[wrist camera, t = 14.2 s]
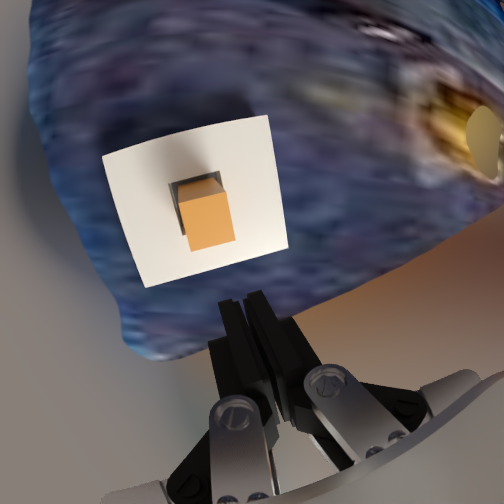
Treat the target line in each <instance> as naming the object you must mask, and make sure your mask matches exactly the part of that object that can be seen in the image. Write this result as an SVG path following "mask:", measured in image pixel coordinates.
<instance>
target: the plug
mask: <svg viewBox="0 0 504 504" xmlns="http://www.w3.org/2000/svg"><path fill="white" fill-rule="evenodd" d="M178 204H179V208H180V212H181V216H182V220H183V224H184V228H185V232H186V235H187V239H188V243H189V247H190V250H191V252H193V251H197V250H200V249H204V248H208V247H212V246H216V245H220V244H224V243H228V242H232V241H236V239H235V234H234V229H233V224H232V219H231V214H230V209H229V204H228V199H227V193H226V191H225V190H224V189H223V188H222V186H221V185H220V184H219V183H218V182H217V181H216V180H215V179H214V178H213V177H212V178H208V179H203V180H199V181H195V182H191V183H187V184H183V185H179V186H178Z"/></svg>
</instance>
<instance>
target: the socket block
mask: <svg viewBox="0 0 504 504" xmlns="http://www.w3.org/2000/svg"><path fill="white" fill-rule="evenodd" d="M102 159H103V163H104V167H105V171H106V174H107V178H108V182H109V185H110V189H111V192H112V195H113V199H114V202H115V205H116V209H117V212H118V215H119V218H120V221H121V224H122V227H123V230H124V233H125V236H126V239H127V241H128V244H129V247H130V250H131V252H132V255H133V258H134V260H135V263H136V266H137V268H138V271H139V273H140V276H141V278H142V281H143V283H144V286H145V288H146V287H150V286H154V285H157V284H161V283H165V282H168V281H172V280H175V279H179V278H183V277H186V276H190V275H193V274H197V273H201V272H204V271H208V270H211V269H215V268H218V267H222V266H226V265H229V264H233V263H236V262H240V261H243V260H247V259H250V258H254V257H258V256H261V255H265V254H268V253H272V252H275V251H279V250H282V249H286V248H288V243H287V235H286V228H285V221H284V214H283V207H282V200H281V194H280V187H279V181H278V175H277V168H276V162H275V156H274V150H273V144H272V138H271V133H270V127H269V122H268V116H267V115H264V116H257V117H251V118H245V119H239V120H233V121H228V122H223V123H218V124H213V125H208V126H204V127H199V128H195V129H191V130H187V131H183V132H179V133H175V134H171V135H167V136H164V137H160V138H157V139H153V140H150V141H147V142H143V143H140V144H137V145H134V146H131V147H128V148H125V149H122V150H119V151H116V152H113V153H110V154H107V155H105V156H102ZM212 177H213V178H214V179H215V180H216V181H217V182H218V183H219V184H220V185H221V186H222V188H223V189H224V190H225V191H226V193H227V199H228V204H229V209H230V214H231V219H232V224H233V229H234V234H235V239H236V241H232V242H228V243H224V244H220V245H216V246H212V247H208V248H204V249H200V250H197V251H193V252H191V250H190V247H189V243H188V239H187V235H186V232H185V228H184V224H183V220H182V216H181V212H180V208H179V204H178V186H179V185H183V184H187V183H191V182H195V181H199V180H203V179H208V178H212Z"/></svg>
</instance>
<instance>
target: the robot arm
mask: <svg viewBox="0 0 504 504" xmlns="http://www.w3.org/2000/svg"><path fill="white" fill-rule="evenodd" d="M243 304H244V308H245V312H246V316H247V320H248V324H249V326H248V324H247V321H246V319H245V316H244V314H243V311H242V309H241V306H240V303H239V301H235V302H233V301H232V298H231V299H228V300H224V301H220V302H218V306H219V309H220V313H221V316H222V320H223V323H224V327H225V330H226V334H227V336H225V337H222V338H218V339H214V340H211V341H208V346H209V351H210V356H211V361H212V365H213V370H214V374H215V379H216V383H217V388H218V392H219V396H220V400H219V401H218V402H217V403H216V404H215V405H214V406H213V407H212V409H211V411H210V416H209V430H208V431H207V432H206V433H205V435H204V436H203V437H202V438H201V440H200V441H199V442H198V443H197V445H196V446H195V447H194V448H193V449H192V451H191V452H190V453H189V454H188V455H187V457H186V458H185V459H184V460H183V461H182V463H181V464H180V465H179V466H178V467H177V468H176V470H175V471H174V472H173V473H172V474H171V476H170V477H169V478H168V479H166V480H162V481H159V480H155V481H152V482H149V483H145V484H141V485H138V486H134V487H131V488H127V489H122V490H118V491H113V492H110V493H108V494H106V495H105V496H104V497H103V498H102V499H101V503H100V504H504V371H501V372H498V373H495V374H493V375H491V376H489V377H487V378H486V379H484V380H481V378H480V377H479V375H478V374H477V373H476V372H474V371H472V370H470V369H463V370H459V371H457V372H455V373H453V374H451V375H448V376H447V377H444V378H442V379H440V380H437V381H434V382H432V383H429V384H427V385H424V386H422V387H420V389H419V390H417V391H411V390H406V389H398V388H392V387H386V386H379V385H374V384H368V383H363V382H359V381H358V380H357V379H356V378H355V377H354V376H353V375H352V374H351V373H350V372H349V371H348V370H346V369H345V368H344V367H342V366H339V365H336V364H324V365H322V363H321V362H320V360H319V358H318V357H317V355H316V354H315V352H314V351H313V349H312V347H311V346H310V344H309V343H308V341H307V339H306V338H305V336H304V335H303V333H302V332H301V330H300V328H299V327H298V325H297V324H296V322H295V320H294V319H293V318H292V317H291V316H290V317H287V318H284V319H281V320H278V319H277V317H276V316H275V314H274V312H273V310H272V308H271V307H270V305H269V303H268V301H267V299H266V297H265V296H264V294H263V292H262V290H258V291H255V292H252V293H248V294H247V298H245V299H243ZM249 328H250V329H249ZM275 401H276V403H277V406H278V408H279V410H280V413H281V415H282V417H283V420H284V422H286V421H289V420H290V422H291V424H292V426H293V427H295V426H296V428H297V430H298V431H301V432H305V433H307V434H308V435H309V437H310V439H311V440H312V441H313V443H314V444H315V446H316V447H317V448H318V450H319V451H320V452H321V454H322V455H323V456H324V458H325V459H326V460H327V462H328V463H329V464H330V466H331V467H332V468H333V470H334V471H335V472H336V474H334V475H332V476H330V477H327V478H325V479H322V480H320V481H317V482H315V483H312V484H309V485H307V486H304V487H301V488H298V489H295V490H292V491H289V492H286V493H283V494H281V490H280V485H279V480H278V474H277V469H276V463H275V459H274V453H273V446H274V444H275V443H276V441H277V440H278V438H279V434H278V430H277V426H276V425H277V424H280V421H279V417H278V412H277V408H276V404H275Z"/></svg>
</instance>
